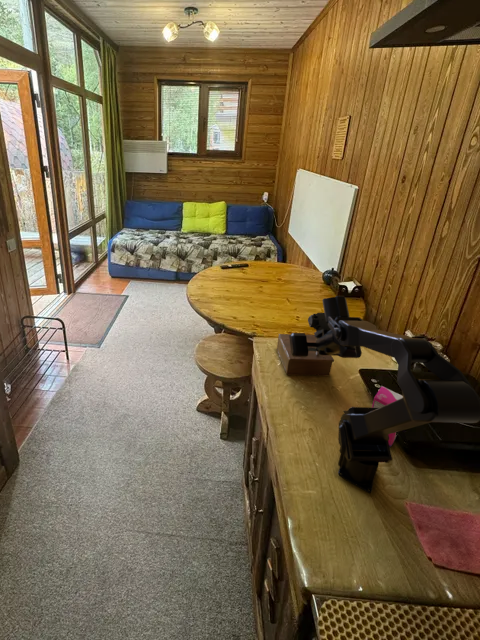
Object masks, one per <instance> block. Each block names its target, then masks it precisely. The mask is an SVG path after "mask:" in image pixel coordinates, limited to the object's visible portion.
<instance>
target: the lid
mask: <svg viewBox="0 0 480 640" xmlns="http://www.w3.org/2000/svg"><path fill="white" fill-rule="evenodd" d="M291 334H292V333H278V336H279V338H280V340H281V342H282V345H283V347H284V349H285V351H286V354H287V356H288V358H289V360H290V361H313V362H332V363H334V362H335V359H334V358H333V357H334V356H328V355H319V352H313V351H308V356H307V357H293V356H292V355H291V348H290V339H289V336H290V335H291ZM305 335H306V338H307V342H312V343H316V339H317V337H315V335H314V334H305ZM308 348H316V347H308Z"/></svg>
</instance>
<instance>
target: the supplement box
mask: <svg viewBox="0 0 480 640" xmlns="http://www.w3.org/2000/svg"><path fill="white" fill-rule="evenodd" d="M401 398H403V395H402V394H399V393H398V392H395V391H393V390H392V389H389V388H388V387H385V386H383V385H381V386H380V388H379V390H378V391H377V392H376V394H375V396H374V397H373V401H372V405H371V407H372V408H380V407H383V406H385V405H387V404H389V403H392V402H394V401H396V400H399V399H401ZM388 436H389V440H388V443H389V447H390V448H392V446H393V444H394V442H395V441H396V438H397V436H398V434H397V435H396V432H395V433H391V434H388Z"/></svg>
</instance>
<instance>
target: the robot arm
mask: <svg viewBox="0 0 480 640" xmlns="http://www.w3.org/2000/svg"><path fill="white" fill-rule="evenodd" d="M321 301H322V306H323V312H316V313H312V314H310V316H308V318H307V322H308V325H309V328H313V329H314V330H315V332H314V334H313V335H315V337H317V339H316V343H312V342H307V338H306V335H307V334H306V333H305V332H292V333H290V334H291V335H290V336H289V339H290V348H291V355H292V356H293V357H307V356H308V351H313V352H319V355H328V356H332V357H334V356H335V357H337V356H338V357H339V358H341V359H359V358H361V356H362V355H363V351H362V347H363V348H366V349H368V350H371V351H374V352H377V353H379V354H382V355H385V356H387V357H391V358H393V359H394V360H395V362H396V363H397V375H396V376H397V377H396V382H397V385H398V386H399V388H400V391H401V395H402V396H403V398H401V399H399V400H396V401H394V402H392V403H389V404H387V405H385V406H383V407H380V408H372V406H371V407H369V406H367V407H366V406H365V407H364V406H351V407H349V408H348V409H347V410H346V409H345V410H342V412H343V413H342V414H341V416H340V419H339V421H338V433H337V434H338V435H337V436H338V437H337V438H338V445H339V450H338V451H339V454H340V455H339V459H338V464H337V465H338V467H339V469H338V473H337V474H338V476H339V477H341V478H342V479H344V480H346V481H347V482H349V483H350V484H352V485H354V486H356V487H357V488H359V489H362V490H363V491H364V492H366V493H368V494H372V492H373V486H374V483H375V482H374V481H375V478H376V474H377V471H378V468H379V464H380V463H385V464H389V463H390V462H392V461H393V456H392V452H391V447H389V443H388V440H389V436H388V434H391V433H395V432H398V433H399V432H402V431H405V430H409V429H413V428H416V427H419V426H420V427H421V426H423V425H427V424H430V423H451V424H453V423H454V424H476V423H479V422H480V396H479V394H478V392H477V391H476V389H475V388H474V387H473V385H471V383H470V382H469V380H468V378H467V377H466V376H465V375H464V373H463V371H461V370H460V369H459V368H458V367H457V366H455V364H453V363H451V362H450V361H449V360H448V359H446V358H444V357H443V356H442V355H441V354H440V353H438V351H437V350H436V348H435V347H434V345H433V343H431V342H430V341H429V340H428V339H424V338H420V337H411V336H407V335H402V334H398V333H394V332H390V331H385V330H381V329H379V328H377V325H375V324H373V323H372V322H370V321H367V320H364V319H363V318H361V317H360V316H359V317H358V316H350V311H349V307H348V301H347V298H346V297H345V295H335V296H332V297H326V298H323V299H322V300H321ZM308 347H316V348H308ZM412 364H423V366H424V367H425V368H426V369H428V371H429V372H431V373H433V375H434V376H436V377H437V378H438V379H427V378H426V379H423V378H416V377H415V375H414V373H413V372H412Z"/></svg>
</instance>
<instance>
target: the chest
mask: <svg viewBox="0 0 480 640" xmlns="http://www.w3.org/2000/svg"><path fill="white" fill-rule="evenodd" d="M276 352H277V355H278V357H279V359H280V363H281V364H282V368H283V370H284V372H285V374H286V375H288V376H322V377H323V376H327V377H328V376H330V375H331V371H332V367H333V366H332V365H333V362H313V361H290V360H289V358H288V356H287V354H286V351H285V349H284V347H283V345H282V342H281V340H280V338H279V335H278V337H277V343H276Z"/></svg>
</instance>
